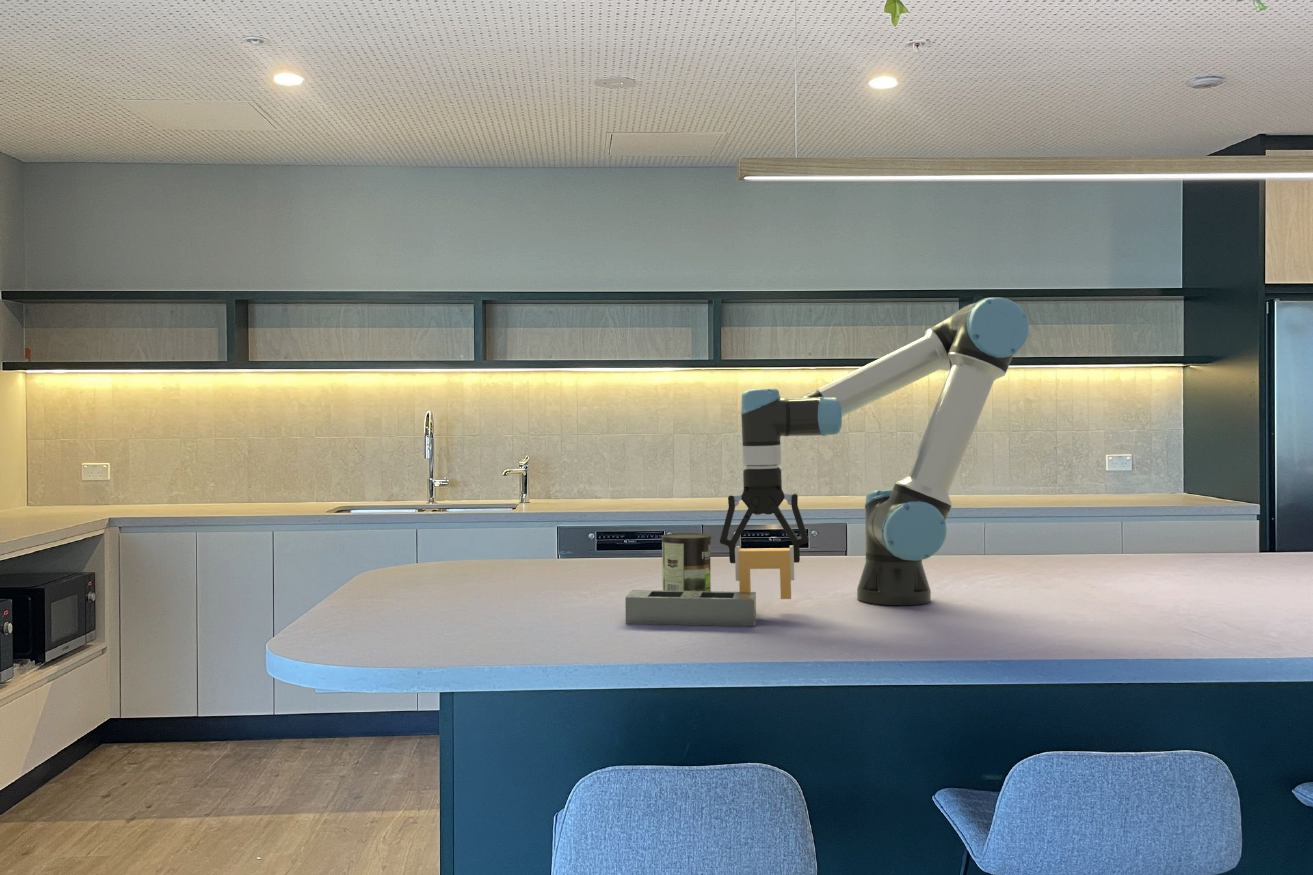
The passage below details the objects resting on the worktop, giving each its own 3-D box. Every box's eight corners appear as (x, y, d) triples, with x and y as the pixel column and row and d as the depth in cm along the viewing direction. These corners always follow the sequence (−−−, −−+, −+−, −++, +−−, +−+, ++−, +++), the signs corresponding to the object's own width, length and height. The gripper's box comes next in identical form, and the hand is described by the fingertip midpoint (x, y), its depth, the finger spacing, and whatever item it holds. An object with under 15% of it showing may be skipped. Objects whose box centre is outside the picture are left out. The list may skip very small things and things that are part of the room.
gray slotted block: (755, 617, 206) (755, 591, 206) (754, 626, 197) (754, 599, 197) (632, 615, 209) (632, 589, 209) (625, 623, 200) (625, 597, 200)
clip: (791, 595, 213) (789, 547, 213) (791, 599, 209) (789, 550, 209) (740, 595, 214) (739, 548, 214) (739, 599, 210) (738, 551, 210)
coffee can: (714, 599, 227) (714, 532, 227) (707, 607, 217) (706, 538, 216) (666, 597, 229) (666, 532, 229) (657, 606, 219) (656, 537, 218)
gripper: (819, 464, 213) (822, 575, 214) (706, 467, 216) (709, 577, 217) (820, 466, 206) (823, 581, 206) (703, 469, 209) (706, 582, 209)
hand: (765, 579), depth 212 cm, fingers closed on clip, 10 cm apart
